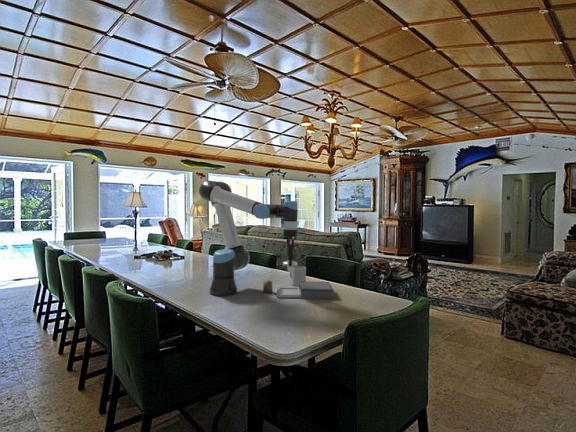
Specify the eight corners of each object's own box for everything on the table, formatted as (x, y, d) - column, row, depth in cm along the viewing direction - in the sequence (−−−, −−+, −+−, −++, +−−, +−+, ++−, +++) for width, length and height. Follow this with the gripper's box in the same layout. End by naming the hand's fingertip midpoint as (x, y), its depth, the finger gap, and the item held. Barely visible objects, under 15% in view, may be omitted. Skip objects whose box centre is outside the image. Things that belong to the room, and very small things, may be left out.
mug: (308, 285, 211) (308, 267, 210) (298, 287, 205) (299, 269, 204) (295, 281, 219) (295, 264, 219) (285, 283, 214) (285, 266, 213)
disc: (282, 266, 184) (282, 263, 184) (282, 263, 192) (282, 261, 192) (297, 266, 185) (297, 263, 184) (296, 263, 193) (296, 261, 192)
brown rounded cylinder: (263, 293, 190) (263, 282, 190) (263, 290, 195) (263, 280, 195) (272, 293, 190) (272, 282, 190) (272, 290, 195) (272, 280, 195)
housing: (301, 298, 180) (301, 289, 180) (299, 290, 198) (299, 281, 198) (333, 298, 181) (333, 289, 181) (328, 290, 199) (328, 281, 199)
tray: (276, 297, 181) (277, 289, 181) (277, 289, 197) (277, 282, 197) (308, 297, 181) (308, 290, 181) (306, 290, 197) (306, 283, 197)
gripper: (298, 230, 178) (297, 274, 178) (296, 227, 198) (295, 266, 199) (283, 230, 177) (283, 274, 178) (283, 227, 198) (282, 266, 199)
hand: (290, 270), depth 188 cm, fingers closed on disc, 8 cm apart
